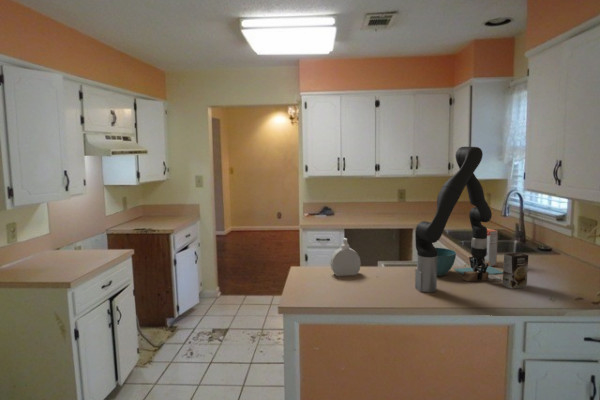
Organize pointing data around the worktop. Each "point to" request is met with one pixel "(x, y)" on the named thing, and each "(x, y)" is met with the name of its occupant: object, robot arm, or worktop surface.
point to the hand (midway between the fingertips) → (477, 278)
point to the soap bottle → (345, 261)
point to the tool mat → (489, 269)
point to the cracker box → (491, 247)
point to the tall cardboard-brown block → (474, 276)
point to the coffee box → (515, 270)
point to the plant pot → (444, 260)
